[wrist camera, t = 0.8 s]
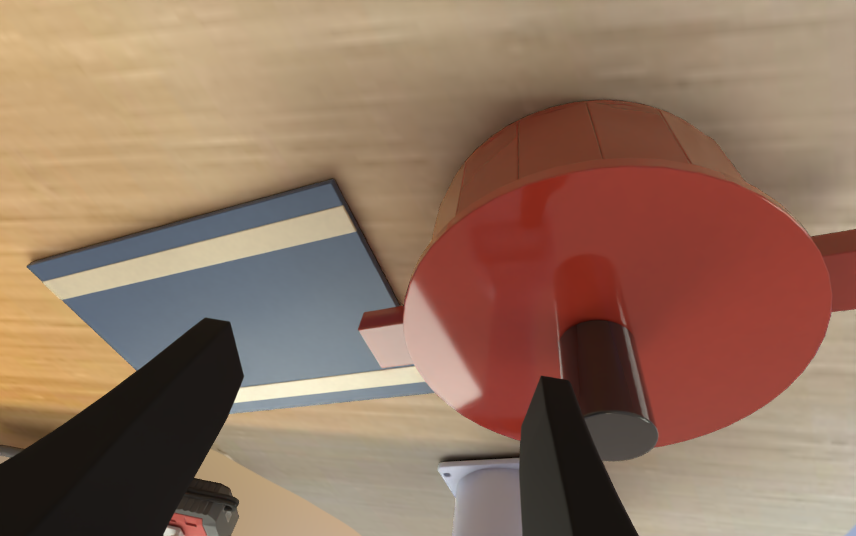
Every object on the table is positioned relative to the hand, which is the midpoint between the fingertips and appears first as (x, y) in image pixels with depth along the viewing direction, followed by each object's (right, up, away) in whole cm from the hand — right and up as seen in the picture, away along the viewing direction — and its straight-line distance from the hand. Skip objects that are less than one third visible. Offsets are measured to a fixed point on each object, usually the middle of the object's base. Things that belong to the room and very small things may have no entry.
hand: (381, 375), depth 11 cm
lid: (+7, 0, +5) cm, 8 cm away
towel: (-9, -1, +16) cm, 18 cm away
